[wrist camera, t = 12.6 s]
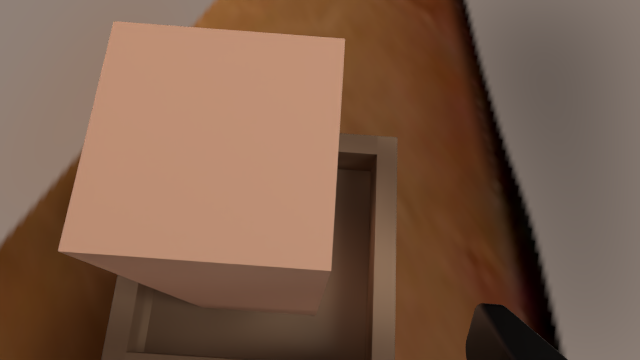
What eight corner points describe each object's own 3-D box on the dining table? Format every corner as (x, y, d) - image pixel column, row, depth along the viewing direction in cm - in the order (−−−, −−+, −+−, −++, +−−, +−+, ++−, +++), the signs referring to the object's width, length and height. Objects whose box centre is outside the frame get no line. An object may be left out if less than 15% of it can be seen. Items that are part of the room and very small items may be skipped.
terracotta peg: (315, 315, 19) (330, 270, 8) (201, 307, 19) (57, 250, 8) (323, 206, 21) (345, 39, 10) (217, 198, 21) (113, 21, 10)
